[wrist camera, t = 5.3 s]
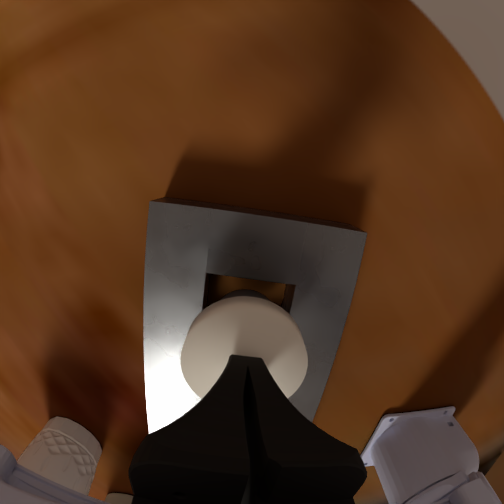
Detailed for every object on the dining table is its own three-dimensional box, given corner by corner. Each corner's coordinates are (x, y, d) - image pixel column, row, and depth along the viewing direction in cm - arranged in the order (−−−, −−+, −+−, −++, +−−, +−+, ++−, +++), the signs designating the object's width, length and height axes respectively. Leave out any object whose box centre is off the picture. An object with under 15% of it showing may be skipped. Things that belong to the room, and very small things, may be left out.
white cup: (64, 453, 25) (35, 510, 16) (34, 407, 23) (-8, 464, 14) (118, 464, 25) (93, 531, 15) (88, 416, 23) (48, 489, 14)
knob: (301, 279, 17) (321, 318, 12) (282, 362, 18) (292, 416, 14) (201, 265, 17) (183, 300, 12) (193, 351, 18) (178, 403, 13)
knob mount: (350, 224, 19) (367, 232, 16) (280, 466, 25) (283, 488, 22) (164, 197, 19) (149, 200, 16) (160, 452, 24) (153, 474, 21)
